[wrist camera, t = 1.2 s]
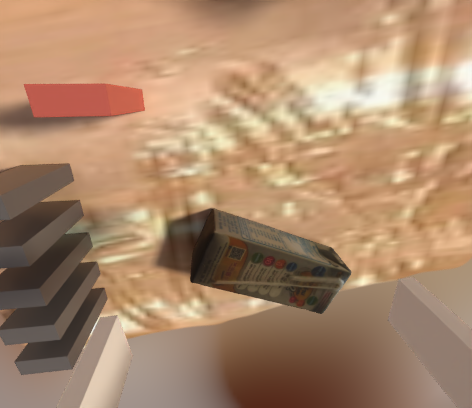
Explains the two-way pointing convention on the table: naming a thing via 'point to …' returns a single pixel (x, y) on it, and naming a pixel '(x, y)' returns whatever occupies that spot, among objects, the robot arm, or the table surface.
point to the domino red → (83, 100)
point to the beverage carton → (266, 263)
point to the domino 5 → (64, 340)
